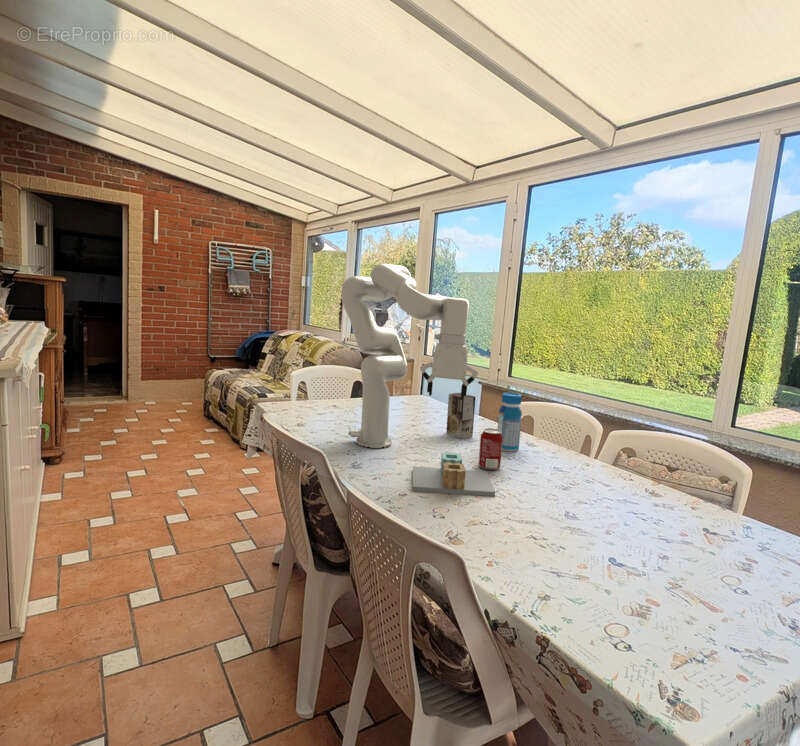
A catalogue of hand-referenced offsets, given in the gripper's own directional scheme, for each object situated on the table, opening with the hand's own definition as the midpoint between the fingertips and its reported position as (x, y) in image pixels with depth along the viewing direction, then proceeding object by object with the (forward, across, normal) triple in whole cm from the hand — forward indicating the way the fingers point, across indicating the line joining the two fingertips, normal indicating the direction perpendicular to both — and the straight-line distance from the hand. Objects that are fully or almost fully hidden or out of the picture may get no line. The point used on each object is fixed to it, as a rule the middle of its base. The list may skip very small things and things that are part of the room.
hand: (446, 396), depth 142 cm
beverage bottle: (+23, +25, +26) cm, 43 cm away
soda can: (+22, +16, +4) cm, 28 cm away
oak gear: (+21, +4, -16) cm, 27 cm away
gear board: (+22, +3, -12) cm, 25 cm away
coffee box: (+24, +9, +39) cm, 47 cm away
